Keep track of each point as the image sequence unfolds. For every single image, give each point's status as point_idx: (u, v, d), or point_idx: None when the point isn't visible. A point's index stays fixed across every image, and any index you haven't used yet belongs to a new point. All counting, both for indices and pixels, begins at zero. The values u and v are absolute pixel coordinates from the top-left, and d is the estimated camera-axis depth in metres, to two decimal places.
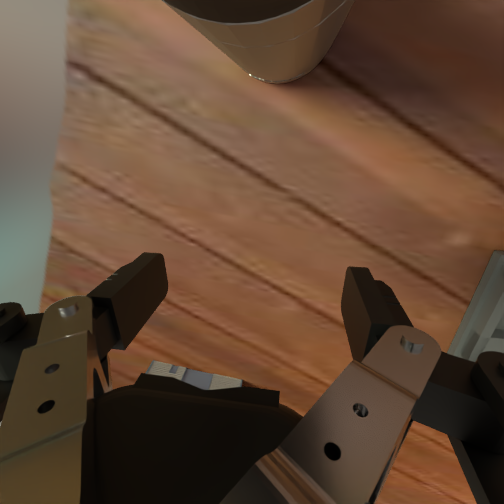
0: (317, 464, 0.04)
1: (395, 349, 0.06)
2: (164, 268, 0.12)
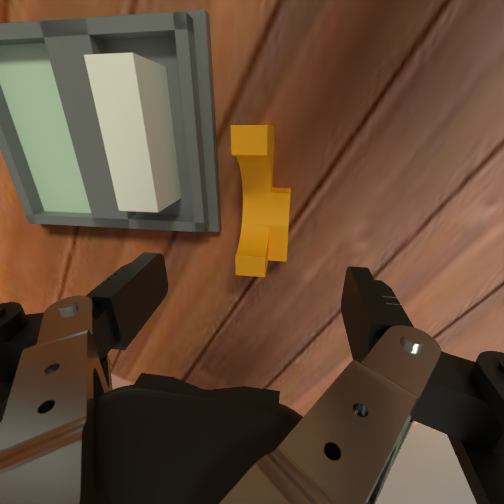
0: (317, 464, 0.04)
1: (395, 349, 0.06)
2: (164, 268, 0.12)
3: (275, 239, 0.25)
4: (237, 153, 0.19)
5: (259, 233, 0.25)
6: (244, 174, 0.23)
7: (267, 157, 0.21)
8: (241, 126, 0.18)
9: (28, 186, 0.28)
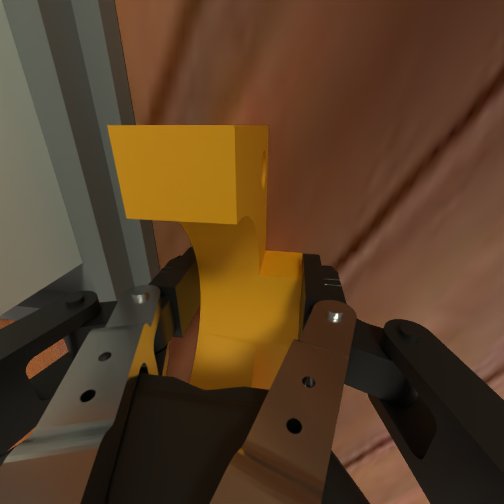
0: (284, 442, 0.04)
1: (323, 322, 0.07)
2: None
3: (270, 367, 0.12)
4: (143, 215, 0.06)
5: (233, 358, 0.11)
6: (197, 239, 0.10)
7: (244, 216, 0.07)
8: (143, 129, 0.05)
9: None
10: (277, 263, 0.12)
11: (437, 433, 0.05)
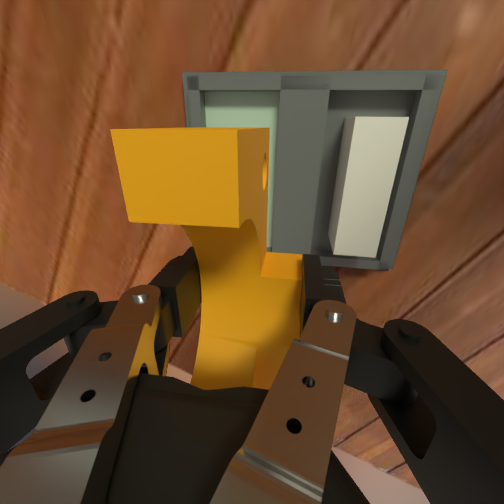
0: (284, 442, 0.04)
1: (323, 322, 0.07)
2: None
3: (271, 368, 0.12)
4: (146, 218, 0.06)
5: (234, 360, 0.11)
6: (198, 241, 0.10)
7: (246, 219, 0.07)
8: (146, 133, 0.05)
9: None
10: (278, 265, 0.12)
11: (437, 433, 0.05)
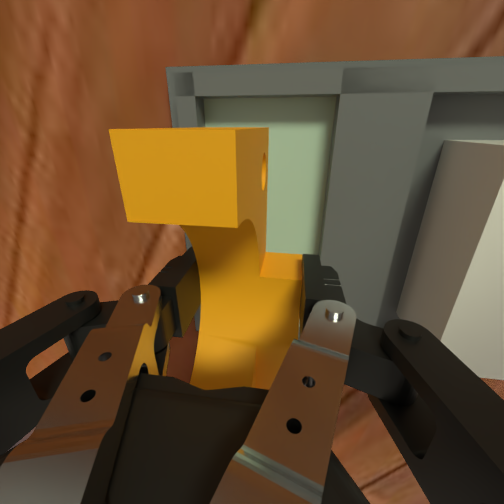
0: (284, 442, 0.04)
1: (323, 322, 0.07)
2: None
3: (270, 368, 0.12)
4: (144, 218, 0.06)
5: (233, 360, 0.11)
6: (197, 241, 0.10)
7: (244, 219, 0.07)
8: (145, 133, 0.05)
9: None
10: (277, 265, 0.12)
11: (437, 433, 0.05)
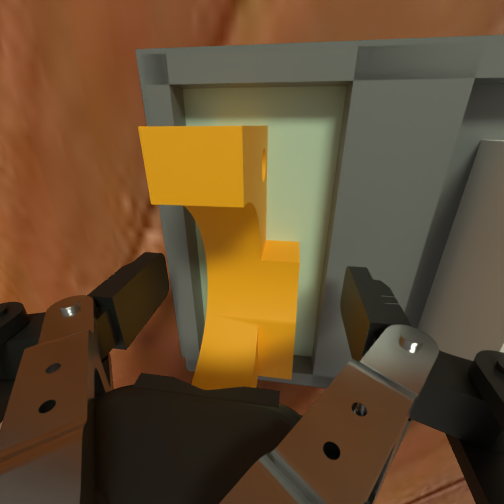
0: (316, 464, 0.04)
1: (393, 348, 0.06)
2: (165, 268, 0.12)
3: (271, 345, 0.13)
4: (165, 201, 0.07)
5: (238, 336, 0.13)
6: (205, 228, 0.11)
7: (248, 203, 0.09)
8: (168, 129, 0.06)
9: (199, 318, 0.16)
10: (276, 250, 0.13)
11: None
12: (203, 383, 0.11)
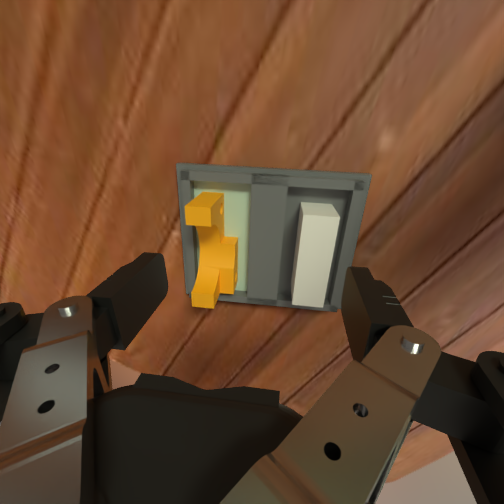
0: (317, 464, 0.04)
1: (395, 349, 0.06)
2: (164, 268, 0.12)
3: (224, 278, 0.33)
4: (190, 224, 0.27)
5: (211, 273, 0.32)
6: (199, 231, 0.31)
7: (213, 224, 0.28)
8: (192, 207, 0.26)
9: (196, 271, 0.36)
10: (227, 240, 0.33)
11: None
12: (197, 288, 0.31)
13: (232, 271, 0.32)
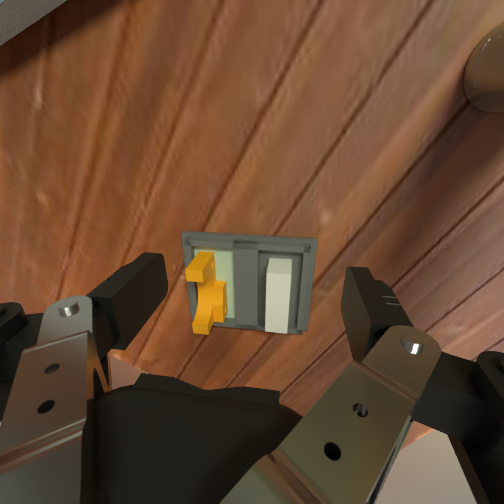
0: (317, 464, 0.04)
1: (395, 349, 0.06)
2: (164, 268, 0.12)
3: (216, 311, 0.46)
4: (189, 280, 0.40)
5: (206, 309, 0.45)
6: None
7: (205, 278, 0.41)
8: (190, 270, 0.39)
9: None
10: (218, 284, 0.46)
11: None
12: (196, 320, 0.44)
13: (221, 307, 0.45)
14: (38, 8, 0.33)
